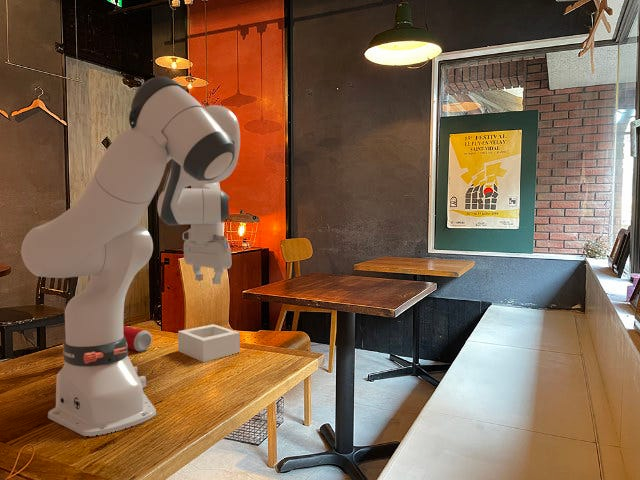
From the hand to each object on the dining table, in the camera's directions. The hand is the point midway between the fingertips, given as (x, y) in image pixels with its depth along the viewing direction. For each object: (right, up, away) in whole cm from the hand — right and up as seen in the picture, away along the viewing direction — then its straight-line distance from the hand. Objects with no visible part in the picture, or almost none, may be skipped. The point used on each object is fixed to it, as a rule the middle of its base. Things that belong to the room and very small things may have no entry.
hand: (207, 282), depth 136 cm
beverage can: (-19, -18, +1) cm, 26 cm away
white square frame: (0, -21, +1) cm, 21 cm away
